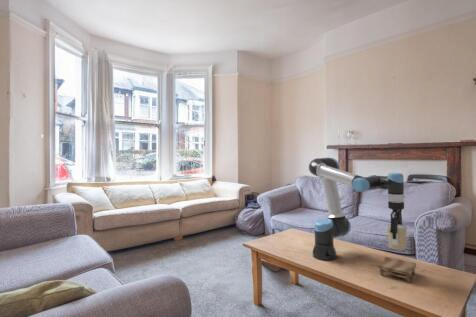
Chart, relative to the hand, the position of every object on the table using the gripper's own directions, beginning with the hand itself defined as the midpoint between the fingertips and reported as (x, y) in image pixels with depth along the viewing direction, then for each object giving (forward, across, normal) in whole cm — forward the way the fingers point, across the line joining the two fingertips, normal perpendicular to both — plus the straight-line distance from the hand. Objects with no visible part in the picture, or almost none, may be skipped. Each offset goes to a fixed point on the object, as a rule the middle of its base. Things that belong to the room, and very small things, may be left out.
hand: (396, 242), depth 146 cm
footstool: (+18, 0, 0) cm, 18 cm away
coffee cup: (+3, 0, 0) cm, 3 cm away
